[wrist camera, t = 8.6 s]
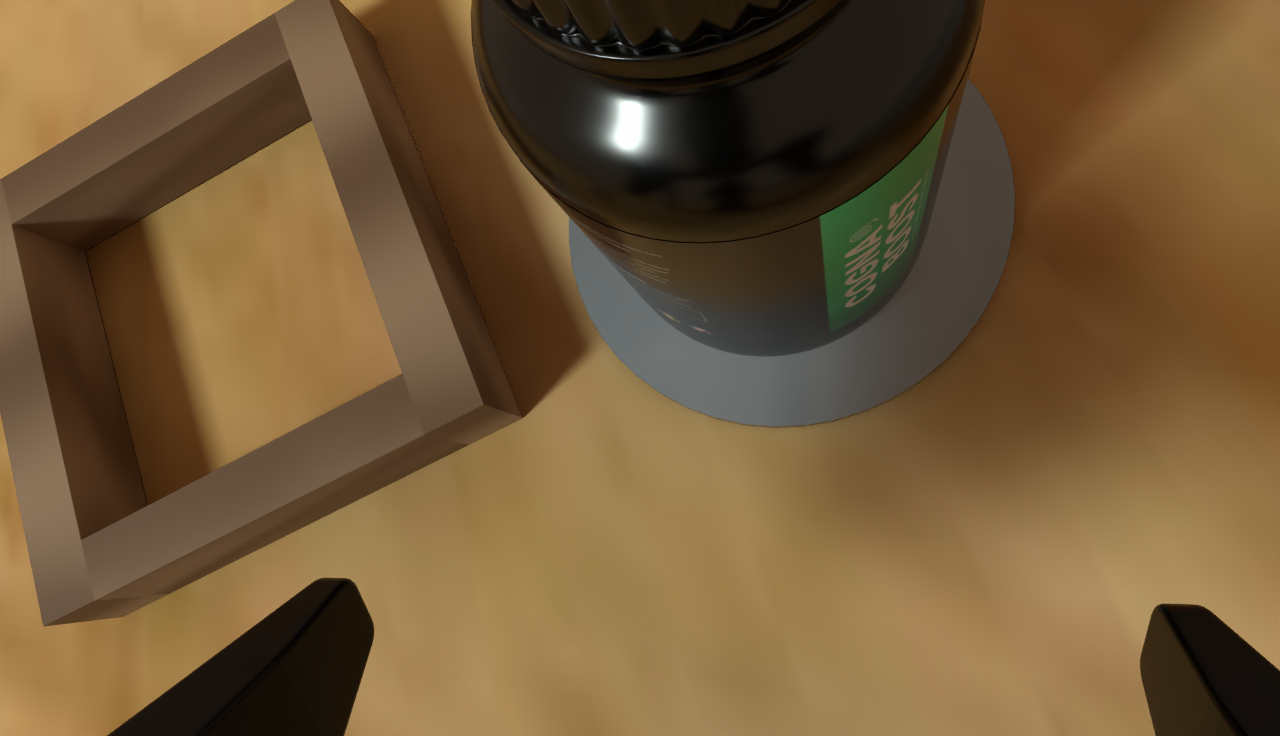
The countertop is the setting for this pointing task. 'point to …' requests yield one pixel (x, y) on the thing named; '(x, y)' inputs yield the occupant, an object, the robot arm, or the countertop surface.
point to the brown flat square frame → (79, 355)
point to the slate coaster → (862, 360)
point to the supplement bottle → (737, 147)
